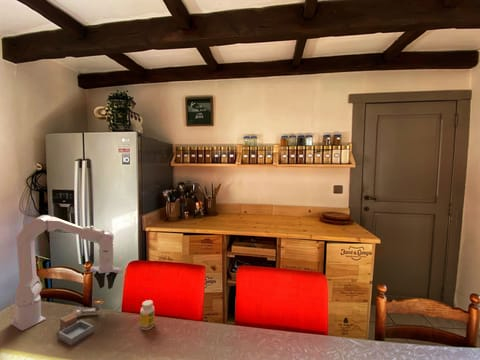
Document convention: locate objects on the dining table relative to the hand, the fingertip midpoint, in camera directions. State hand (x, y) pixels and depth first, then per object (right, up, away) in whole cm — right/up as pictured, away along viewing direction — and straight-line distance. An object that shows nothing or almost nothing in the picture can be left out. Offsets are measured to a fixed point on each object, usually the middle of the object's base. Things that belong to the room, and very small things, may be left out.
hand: (106, 287), depth 107 cm
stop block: (-7, -10, -14) cm, 18 cm away
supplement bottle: (+24, -11, -12) cm, 28 cm away
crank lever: (-5, -9, -5) cm, 12 cm away
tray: (-1, -10, -18) cm, 21 cm away
